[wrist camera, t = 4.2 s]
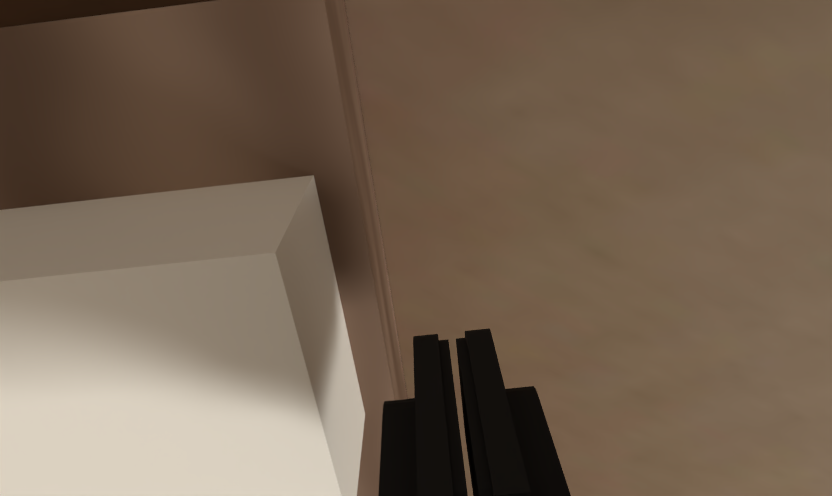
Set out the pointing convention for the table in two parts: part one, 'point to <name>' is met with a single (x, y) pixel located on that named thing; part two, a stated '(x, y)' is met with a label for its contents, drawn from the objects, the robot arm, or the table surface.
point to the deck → (210, 136)
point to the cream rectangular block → (176, 347)
